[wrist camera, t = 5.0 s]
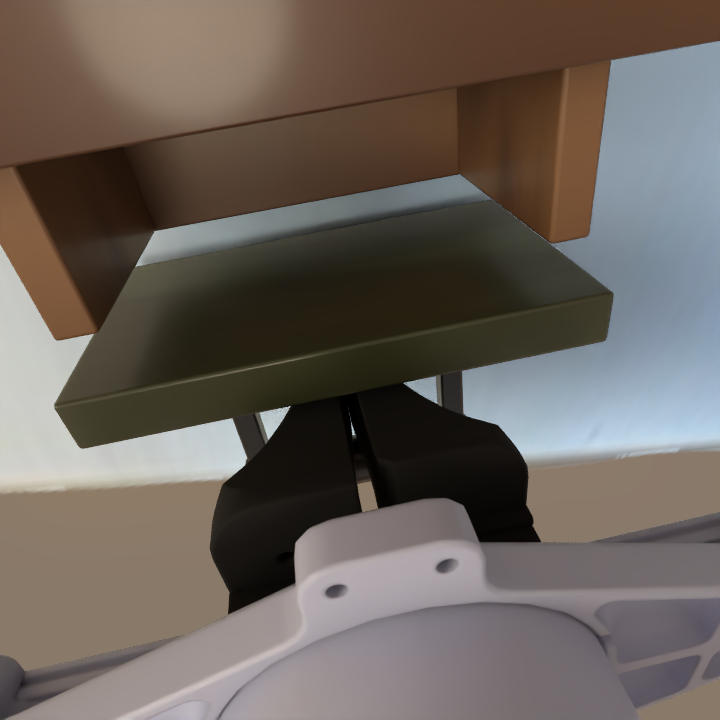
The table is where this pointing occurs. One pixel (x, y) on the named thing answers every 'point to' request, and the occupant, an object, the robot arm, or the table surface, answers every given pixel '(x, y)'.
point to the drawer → (315, 257)
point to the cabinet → (286, 58)
